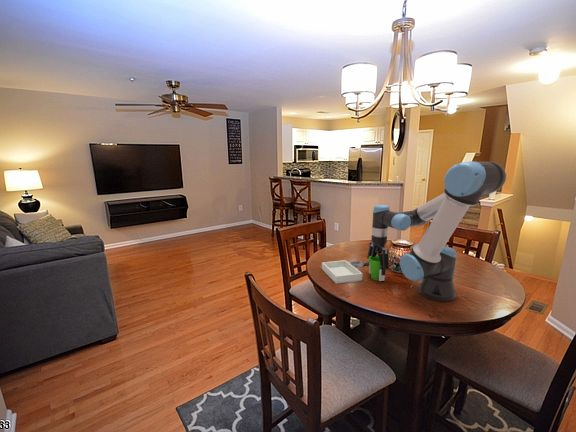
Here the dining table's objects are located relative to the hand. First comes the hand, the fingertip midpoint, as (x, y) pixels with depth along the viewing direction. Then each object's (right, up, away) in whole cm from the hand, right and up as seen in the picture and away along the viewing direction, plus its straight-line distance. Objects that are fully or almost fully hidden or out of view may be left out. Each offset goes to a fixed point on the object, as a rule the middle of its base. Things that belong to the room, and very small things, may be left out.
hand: (376, 276), depth 149 cm
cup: (0, -1, 0) cm, 1 cm away
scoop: (-3, +3, +18) cm, 18 cm away
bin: (-18, 0, +5) cm, 18 cm away
